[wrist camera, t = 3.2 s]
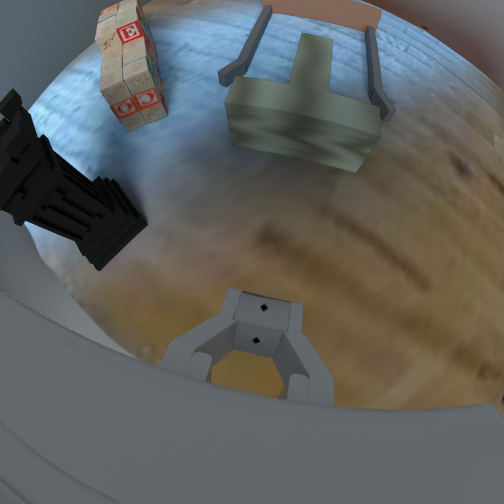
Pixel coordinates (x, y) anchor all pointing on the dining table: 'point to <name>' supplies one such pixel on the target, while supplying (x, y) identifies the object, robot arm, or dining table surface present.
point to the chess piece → (60, 191)
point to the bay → (329, 10)
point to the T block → (303, 113)
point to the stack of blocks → (129, 65)
